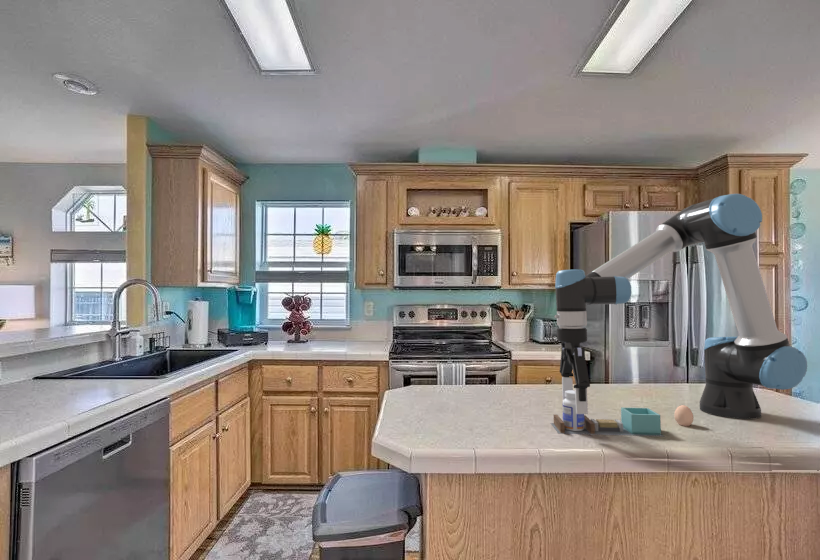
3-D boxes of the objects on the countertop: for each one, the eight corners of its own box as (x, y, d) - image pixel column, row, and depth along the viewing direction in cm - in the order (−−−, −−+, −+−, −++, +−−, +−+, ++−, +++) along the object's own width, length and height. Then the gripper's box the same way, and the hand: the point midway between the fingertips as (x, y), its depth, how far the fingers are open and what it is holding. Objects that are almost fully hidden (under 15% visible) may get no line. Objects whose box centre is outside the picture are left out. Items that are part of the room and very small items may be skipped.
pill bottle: (582, 426, 117) (581, 390, 117) (586, 432, 111) (585, 394, 112) (561, 425, 118) (560, 389, 118) (564, 431, 112) (563, 393, 113)
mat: (648, 427, 117) (648, 425, 117) (664, 438, 108) (664, 436, 108) (550, 424, 120) (550, 423, 120) (558, 434, 111) (558, 433, 111)
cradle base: (618, 427, 115) (617, 419, 115) (623, 431, 112) (623, 423, 112) (590, 427, 116) (590, 418, 116) (595, 431, 112) (594, 422, 112)
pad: (613, 424, 115) (613, 419, 115) (617, 427, 112) (617, 422, 112) (596, 423, 115) (596, 419, 116) (599, 427, 112) (599, 422, 113)
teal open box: (648, 426, 116) (648, 408, 116) (660, 435, 109) (660, 415, 109) (621, 426, 117) (621, 407, 117) (631, 434, 110) (631, 414, 110)
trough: (585, 424, 118) (585, 415, 118) (594, 433, 110) (594, 423, 110) (553, 423, 119) (553, 414, 119) (560, 432, 111) (560, 422, 111)
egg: (696, 429, 115) (695, 407, 115) (677, 427, 116) (676, 406, 117) (691, 424, 119) (690, 403, 119) (672, 423, 121) (672, 402, 121)
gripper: (547, 324, 128) (549, 395, 128) (569, 331, 104) (572, 420, 103) (573, 323, 128) (576, 396, 127) (601, 330, 103) (605, 420, 102)
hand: (574, 406), depth 115 cm, fingers open, 13 cm apart
